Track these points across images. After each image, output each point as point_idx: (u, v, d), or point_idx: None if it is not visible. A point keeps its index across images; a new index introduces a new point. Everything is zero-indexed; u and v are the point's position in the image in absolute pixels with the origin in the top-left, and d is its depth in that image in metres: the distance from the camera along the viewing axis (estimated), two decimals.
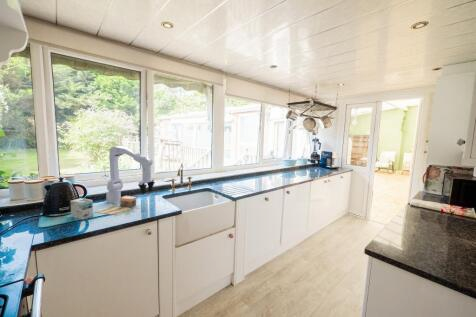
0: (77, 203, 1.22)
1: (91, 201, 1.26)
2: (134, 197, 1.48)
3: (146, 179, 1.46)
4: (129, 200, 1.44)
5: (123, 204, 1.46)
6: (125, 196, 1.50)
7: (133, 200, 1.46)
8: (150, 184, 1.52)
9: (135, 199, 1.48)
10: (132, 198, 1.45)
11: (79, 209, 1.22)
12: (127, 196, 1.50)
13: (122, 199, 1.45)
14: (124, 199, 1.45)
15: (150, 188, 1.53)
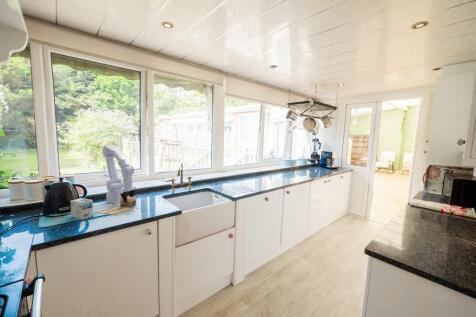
0: (77, 203, 1.22)
1: (91, 201, 1.26)
2: (134, 197, 1.48)
3: (127, 188, 1.44)
4: (129, 200, 1.44)
5: (123, 204, 1.46)
6: None
7: (133, 200, 1.46)
8: (131, 193, 1.50)
9: (135, 199, 1.48)
10: (132, 198, 1.45)
11: (79, 209, 1.22)
12: (127, 196, 1.50)
13: (122, 199, 1.45)
14: None
15: None
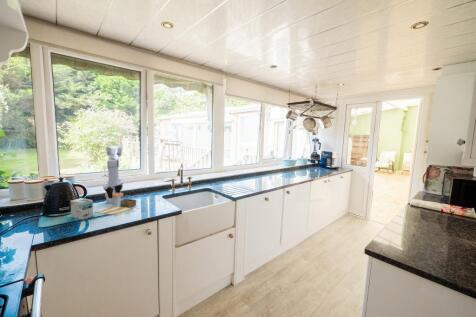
0: (77, 203, 1.22)
1: (91, 201, 1.26)
2: (121, 193, 1.36)
3: (112, 182, 1.32)
4: (115, 196, 1.32)
5: (123, 204, 1.46)
6: None
7: (119, 196, 1.35)
8: (117, 188, 1.38)
9: (122, 195, 1.37)
10: (118, 194, 1.34)
11: (79, 209, 1.22)
12: (113, 192, 1.38)
13: (107, 195, 1.34)
14: None
15: (117, 192, 1.38)
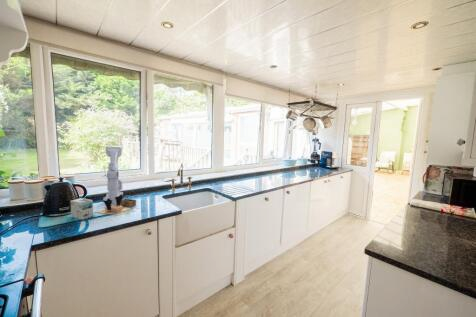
0: (77, 203, 1.22)
1: (91, 201, 1.26)
2: (120, 206, 1.37)
3: (112, 194, 1.33)
4: (115, 210, 1.33)
5: (123, 204, 1.46)
6: (111, 205, 1.39)
7: (119, 209, 1.35)
8: (118, 199, 1.39)
9: (121, 208, 1.37)
10: (118, 207, 1.34)
11: (79, 209, 1.22)
12: (113, 205, 1.39)
13: None
14: None
15: (118, 203, 1.39)
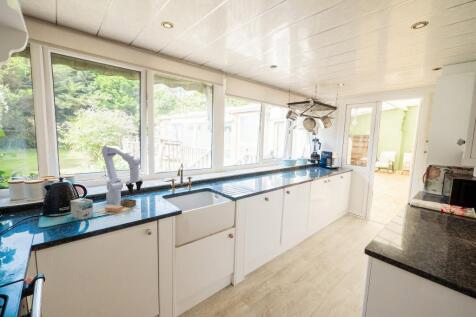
0: (77, 203, 1.22)
1: (91, 201, 1.26)
2: (120, 206, 1.37)
3: (134, 179, 1.45)
4: (115, 210, 1.33)
5: (123, 204, 1.46)
6: (111, 205, 1.39)
7: (119, 209, 1.35)
8: (138, 184, 1.51)
9: (121, 208, 1.37)
10: (118, 207, 1.34)
11: (79, 209, 1.22)
12: (113, 205, 1.39)
13: (107, 208, 1.34)
14: (109, 208, 1.34)
15: (138, 188, 1.51)
